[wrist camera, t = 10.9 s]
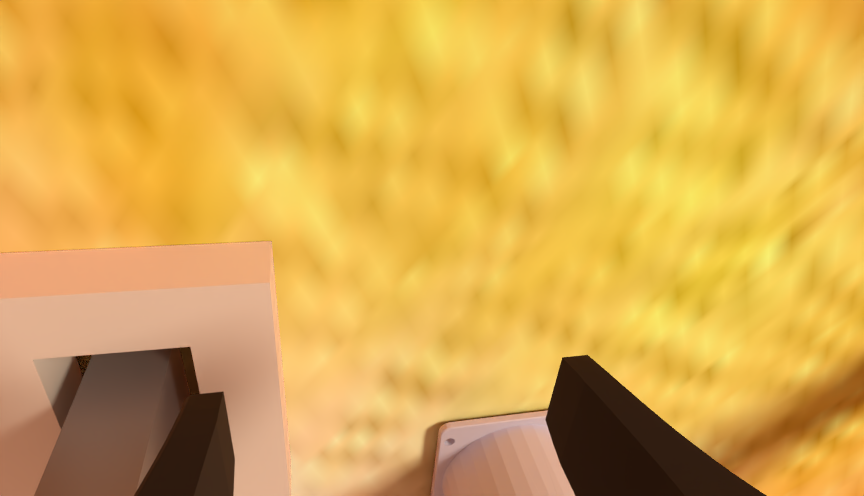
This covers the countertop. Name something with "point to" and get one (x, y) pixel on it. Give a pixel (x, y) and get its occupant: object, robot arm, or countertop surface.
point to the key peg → (116, 424)
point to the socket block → (142, 344)
